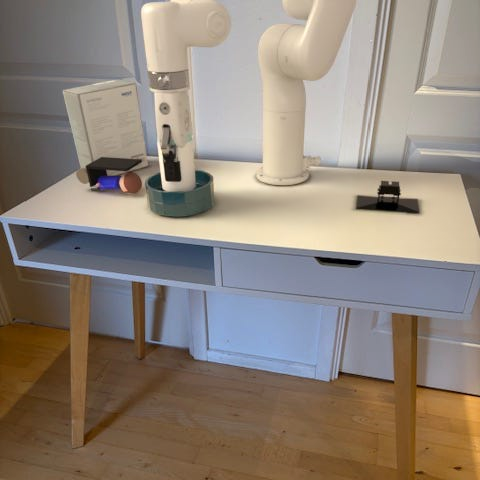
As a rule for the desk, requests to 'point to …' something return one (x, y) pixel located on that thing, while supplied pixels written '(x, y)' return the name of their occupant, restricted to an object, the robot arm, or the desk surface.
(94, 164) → the figurine character
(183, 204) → the bowl
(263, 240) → the desk surface
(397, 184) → the build plate
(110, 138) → the hard drive box
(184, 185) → the can
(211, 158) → the desk surface
